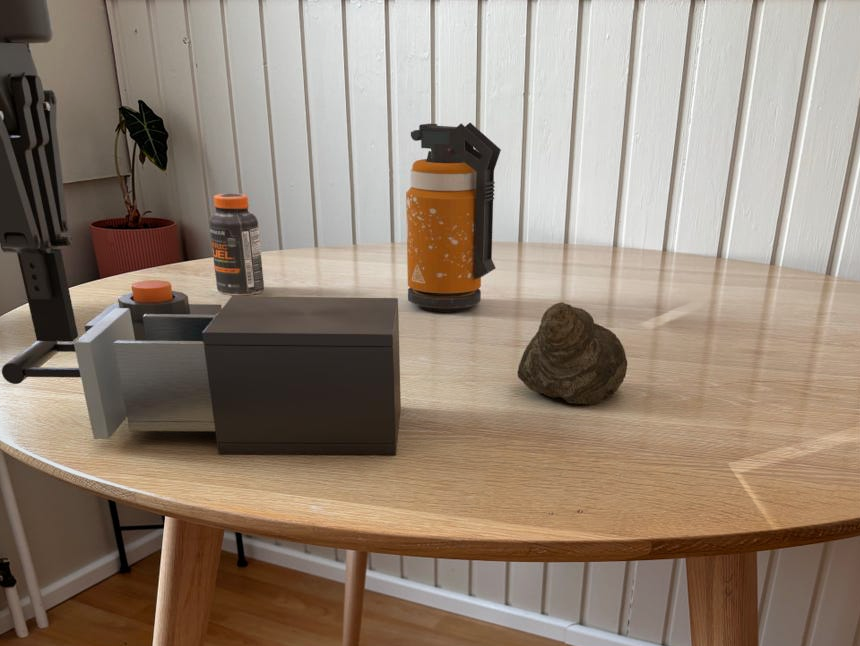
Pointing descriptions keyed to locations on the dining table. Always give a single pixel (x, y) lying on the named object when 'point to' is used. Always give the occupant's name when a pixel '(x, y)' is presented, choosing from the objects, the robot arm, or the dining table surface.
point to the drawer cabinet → (305, 375)
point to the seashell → (573, 357)
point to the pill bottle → (236, 246)
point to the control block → (155, 310)
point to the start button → (152, 291)
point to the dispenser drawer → (133, 372)
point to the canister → (450, 217)
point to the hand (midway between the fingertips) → (57, 338)
